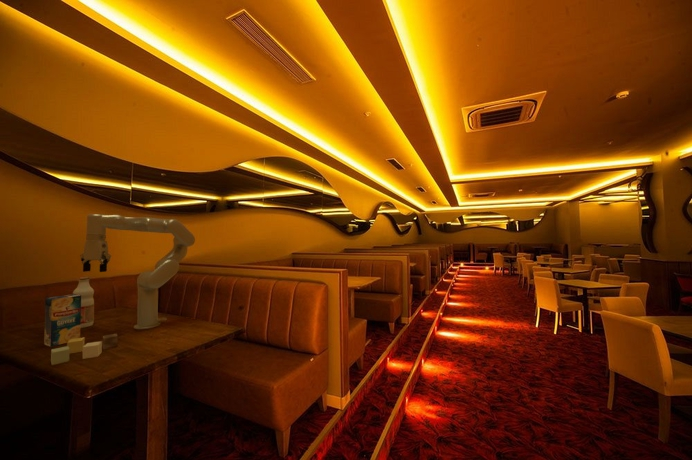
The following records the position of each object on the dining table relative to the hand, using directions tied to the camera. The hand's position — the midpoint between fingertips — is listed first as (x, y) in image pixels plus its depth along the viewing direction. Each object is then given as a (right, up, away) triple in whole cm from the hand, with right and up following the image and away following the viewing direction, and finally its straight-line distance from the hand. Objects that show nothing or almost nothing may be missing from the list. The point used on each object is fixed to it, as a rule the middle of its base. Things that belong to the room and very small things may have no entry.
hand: (94, 271), depth 145 cm
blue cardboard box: (-10, -34, -6) cm, 36 cm away
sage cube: (+11, -33, -28) cm, 45 cm away
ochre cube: (+7, -33, -17) cm, 38 cm away
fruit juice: (-24, -35, +19) cm, 46 cm away
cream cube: (+19, -33, -23) cm, 44 cm away
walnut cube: (+18, -34, -12) cm, 40 cm away
